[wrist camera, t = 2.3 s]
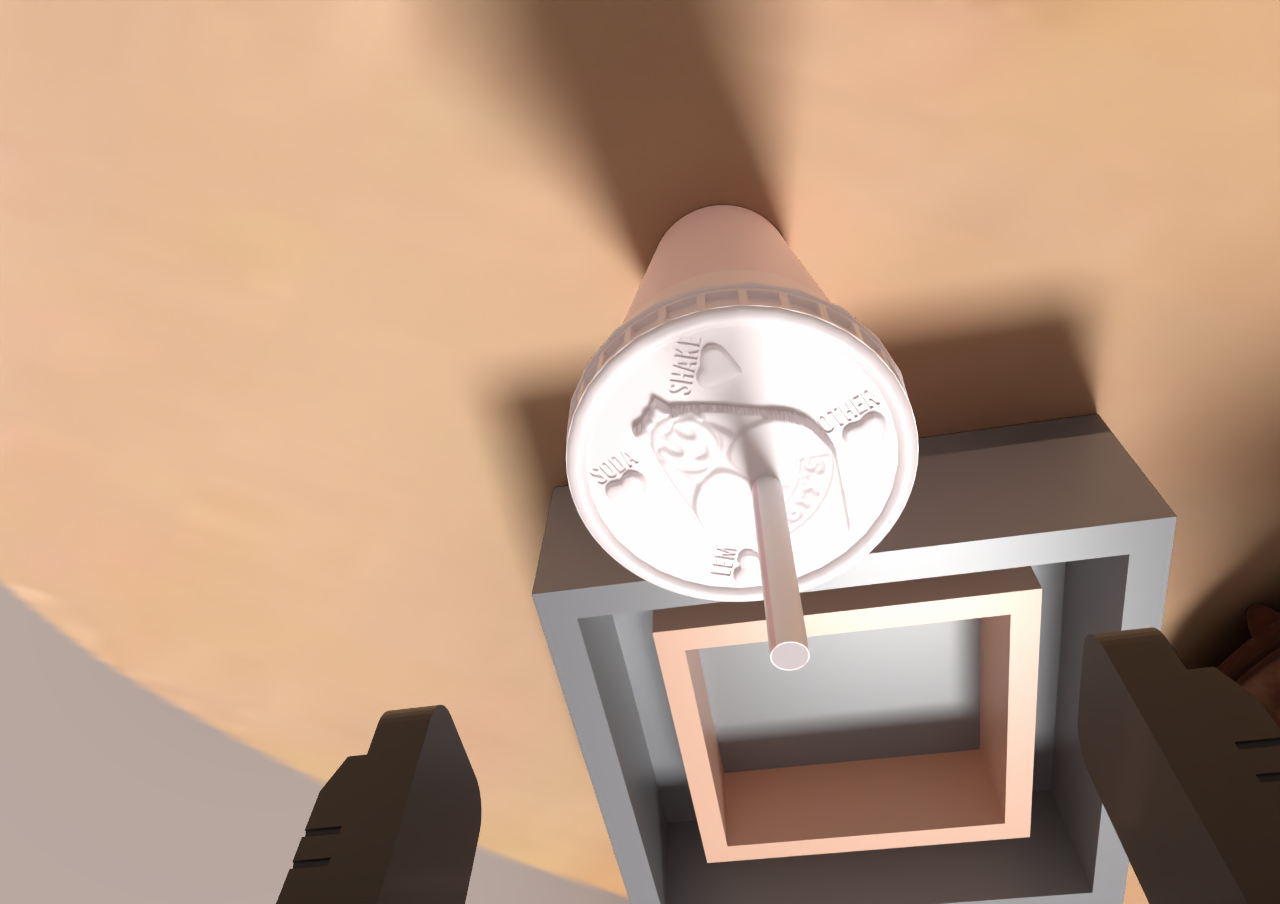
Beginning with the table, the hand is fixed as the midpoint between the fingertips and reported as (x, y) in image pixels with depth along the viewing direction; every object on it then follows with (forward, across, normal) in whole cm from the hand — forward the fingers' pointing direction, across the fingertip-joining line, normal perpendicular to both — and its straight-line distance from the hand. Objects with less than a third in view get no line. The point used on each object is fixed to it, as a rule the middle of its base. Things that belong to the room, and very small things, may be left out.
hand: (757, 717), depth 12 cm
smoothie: (+15, 0, 0) cm, 16 cm away
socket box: (+15, -2, +14) cm, 21 cm away
